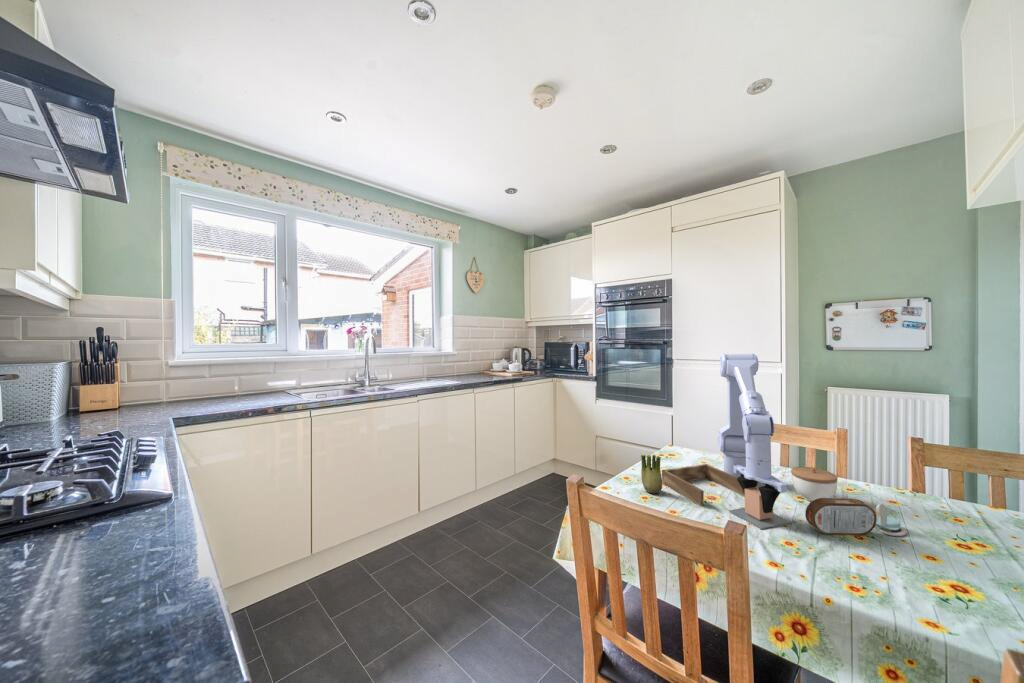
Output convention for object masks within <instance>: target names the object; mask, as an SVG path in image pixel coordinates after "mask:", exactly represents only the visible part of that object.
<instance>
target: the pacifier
mask: <svg viewBox="0 0 1024 683" xmlns="http://www.w3.org/2000/svg"><path fill="white" fill-rule="evenodd" d="M875 512H876V514H878V517H877V521H876V525H875V527H876V529H877V530H879V531H880V532H881V533H883V534H885V535H888V536H892V537H903V536H906V534H907V530H906V529H904V528H903V527H901V525H902V524H901V522H900V521H899V520H898V519H897V518H895V517H893V516H890V515H889V510H888V508H887V506H886V505H885V504H884V503H878V504H877V505H876V506H875ZM893 531H898V532H893Z"/></svg>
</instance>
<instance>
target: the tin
mask: <svg viewBox="0 0 1024 683" xmlns="http://www.w3.org/2000/svg"><path fill="white" fill-rule="evenodd" d="M804 512H805V518H806V522H808V524H809V525H810V526H811V527H812V528H814V529H815V530H817V531H818V532H820V533H821V534H824V535H834V536H835V535H839V536H840V535H841V536H842V535H843V536H865V535H868V534H869V533H871V532H872V531H873V530H874V529H875V528H876V526H875V525H876V521H877V518H878V516H877V512H876V510H874V509H873V508H872V507H871V506H869V505H868V504H867V503H865V502H864V501H863V500H861V499H857V498H843V497H842V498H841V497H840V498H839V497H838V498H837V497H835V498H834V497H833V498H818V499H815V500H814V501H812V502H811V501H810V503H808V505H807V506H806V508H805V511H804Z"/></svg>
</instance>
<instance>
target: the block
mask: <svg viewBox="0 0 1024 683" xmlns="http://www.w3.org/2000/svg"><path fill="white" fill-rule="evenodd" d="M758 487H759V486H757V487H753V488H747V489H745V497H744V508H745V512H746V513H748V514H749V515H751V516H753V517H755V518H757V519H759V520H762V519H767V518H772V517H773V513H774V508H773V509H772V512H771V513H764V511H763V506H762V497H761V493H760V491H759V488H758Z"/></svg>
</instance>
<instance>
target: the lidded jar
mask: <svg viewBox="0 0 1024 683" xmlns="http://www.w3.org/2000/svg"><path fill="white" fill-rule="evenodd" d="M790 474H791V482H792V485H793V486H792V487H793V488H794V490H795V491H796V492H797V493H798V495H799V496H800V497H801V498H802V499H803V498H804V499H803V500H805V499H806V501H808V502H810V503H811V502H812V501H814V500H815V499H818V498H834V497H835V494H836V493H837V490H838V489H837V488H838V476H837V475H836V474H835V473H832V472H830V471H829V470H825V469H822V468H817V467H815V466H795V467H792V468H791V470H790Z"/></svg>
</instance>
